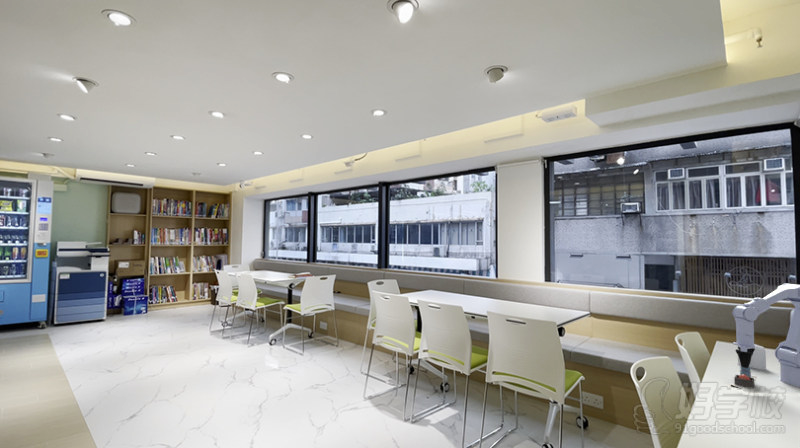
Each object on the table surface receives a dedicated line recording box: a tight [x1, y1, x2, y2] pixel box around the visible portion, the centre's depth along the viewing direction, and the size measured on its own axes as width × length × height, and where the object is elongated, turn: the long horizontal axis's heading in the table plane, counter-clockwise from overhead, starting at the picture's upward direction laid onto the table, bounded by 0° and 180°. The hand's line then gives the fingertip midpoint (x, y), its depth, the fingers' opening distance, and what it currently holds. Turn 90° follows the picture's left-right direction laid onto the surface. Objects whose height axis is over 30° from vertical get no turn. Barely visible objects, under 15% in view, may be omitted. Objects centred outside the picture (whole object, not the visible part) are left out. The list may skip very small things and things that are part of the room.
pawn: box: [739, 366, 752, 378], centre depth 163 cm, size 5×5×7 cm
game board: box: [730, 373, 758, 390], centre depth 165 cm, size 26×8×4 cm, turn 133°
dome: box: [739, 374, 751, 381], centre depth 158 cm, size 4×4×4 cm
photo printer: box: [737, 343, 767, 371], centre depth 185 cm, size 10×4×12 cm, turn 39°
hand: (745, 365), depth 163 cm, fingers open, 7 cm apart
